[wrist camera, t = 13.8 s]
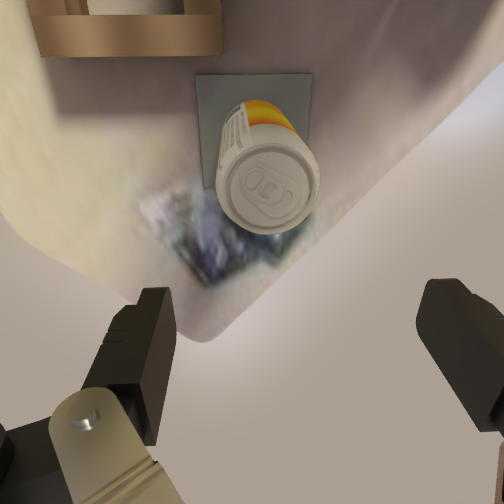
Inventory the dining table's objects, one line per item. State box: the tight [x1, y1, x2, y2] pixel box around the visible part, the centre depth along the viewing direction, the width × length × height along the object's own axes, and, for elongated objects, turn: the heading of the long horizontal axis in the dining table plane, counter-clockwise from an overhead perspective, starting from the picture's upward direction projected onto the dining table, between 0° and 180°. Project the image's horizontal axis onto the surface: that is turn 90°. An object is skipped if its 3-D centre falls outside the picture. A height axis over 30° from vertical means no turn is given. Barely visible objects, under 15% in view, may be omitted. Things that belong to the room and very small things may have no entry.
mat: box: [195, 74, 312, 188], centre depth 33 cm, size 10×10×1 cm
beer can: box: [215, 100, 320, 235], centre depth 26 cm, size 6×6×15 cm
